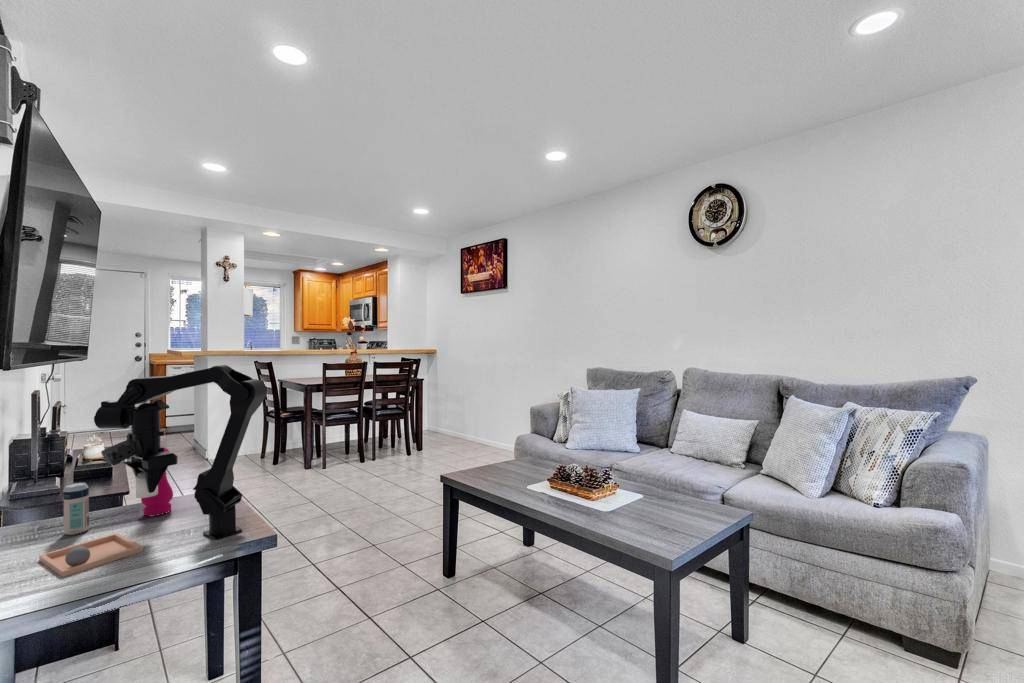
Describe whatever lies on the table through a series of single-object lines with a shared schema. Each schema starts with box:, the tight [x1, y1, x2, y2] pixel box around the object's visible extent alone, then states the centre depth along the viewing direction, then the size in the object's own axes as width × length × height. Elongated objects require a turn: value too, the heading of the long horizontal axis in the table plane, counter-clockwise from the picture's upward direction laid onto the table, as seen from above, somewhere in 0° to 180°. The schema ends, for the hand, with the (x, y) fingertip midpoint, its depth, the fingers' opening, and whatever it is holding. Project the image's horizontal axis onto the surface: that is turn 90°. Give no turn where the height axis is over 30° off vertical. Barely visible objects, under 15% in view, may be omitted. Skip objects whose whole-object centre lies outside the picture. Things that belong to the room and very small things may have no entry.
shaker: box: [135, 472, 158, 499], centre depth 121 cm, size 4×4×6 cm
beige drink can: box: [62, 482, 90, 536], centre depth 123 cm, size 5×5×12 cm
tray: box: [38, 532, 144, 578], centre depth 109 cm, size 14×14×2 cm
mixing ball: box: [65, 546, 90, 567], centre depth 104 cm, size 4×4×4 cm
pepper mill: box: [140, 446, 174, 517], centre depth 136 cm, size 7×7×20 cm
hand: (147, 490), depth 121 cm, fingers closed on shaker, 4 cm apart
